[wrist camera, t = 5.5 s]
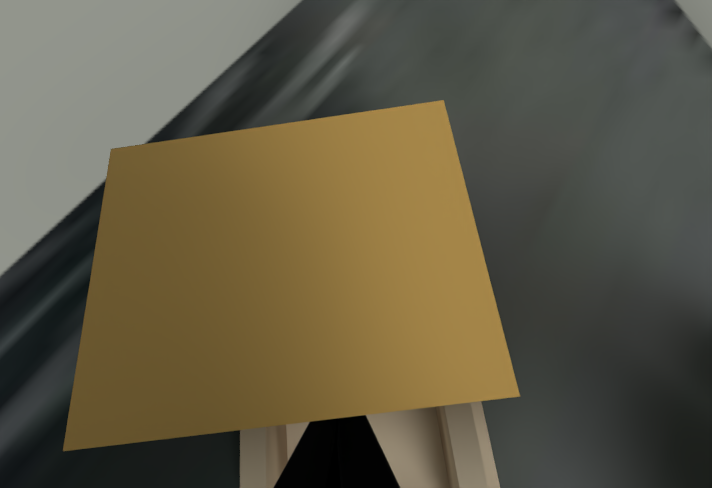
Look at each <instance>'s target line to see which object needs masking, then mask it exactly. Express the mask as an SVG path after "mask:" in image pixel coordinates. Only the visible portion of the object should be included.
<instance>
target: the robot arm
mask: <svg viewBox="0 0 712 488" xmlns="http://www.w3.org/2000/svg"><path fill="white" fill-rule="evenodd" d="M274 488H400V486H399V484H398V482H397V479H396V477H395V475H394V473H393V471H392V469H391V467H390V465H389V463H388V461H387V458H386V456H385V454H384V452H383V450H382V448H381V446H380V444H379V442H378V440H377V437H376V435H375V433H374V431H373V429H372V427H371V425H370V423H369V421H368V419H367V416H366V415H361V416H353V417H344V418H336V419H328V420H319V421H311V422H309V424H308V426H307V427H306V429H305V431H304V433H303V435H302V437H301V438H300V440H299V442H298V444H297V446H296V447H295V449H294V451H293V453H292V455H291V457H290V458H289V460H288V462H287V464H286V466H285V467H284V469H283V471H282V473H281V475H280V477H279V478H278V480H277V482H276V484H275V486H274Z"/></svg>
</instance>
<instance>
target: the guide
mask: <svg viewBox="0 0 712 488" xmlns="http://www.w3.org/2000/svg"><path fill="white" fill-rule="evenodd" d="M366 416H367V419H368V421H369V423H370V425H371V427H372V429H373V431H374V433H375V435H376V437H377V440H378V442H379V444H380V446H381V448H382V450H383V452H384V454H385V456H386V458H387V461H388V463H389V465H390V467H391V469H392V471H393V473H394V475H395V477H396V479H397V482H398V484H399V486H400V488H500V484H499V480H498V475H497V471H496V466H495V462H494V457H493V453H492V448H491V444H490V439H489V435H488V430H487V426H486V421H485V417H484V412H483V407H482V403H481V401H478V402H469V403H461V404H453V405H444V406H436V407H428V408H419V409H411V410H403V411H394V412H386V413H378V414H369V415H366ZM308 424H309V422H303V423H294V424H286V425H278V426H269V427H261V428H253V429H244V430H240V488H274V486H275V484H276V482H277V480H278V478H279V477H280V475H281V473H282V471H283V469H284V467H285V466H286V464H287V462H288V460H289V458H290V457H291V455H292V453H293V451H294V449H295V447H296V446H297V444H298V442H299V440H300V438H301V437H302V435H303V433H304V431H305V429H306V427H307V426H308Z"/></svg>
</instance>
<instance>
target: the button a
mask: <svg viewBox="0 0 712 488" xmlns="http://www.w3.org/2000/svg"><path fill="white" fill-rule="evenodd" d="M519 396H520V394H519V390H518V387H517V383H516V379H515V375H514V371H513V367H512V363H511V359H510V356H509V352H508V348H507V344H506V340H505V336H504V332H503V328H502V325H501V321H500V317H499V313H498V309H497V305H496V301H495V297H494V294H493V290H492V286H491V282H490V278H489V274H488V270H487V267H486V263H485V259H484V255H483V251H482V247H481V243H480V239H479V236H478V232H477V228H476V224H475V220H474V216H473V212H472V208H471V205H470V201H469V197H468V193H467V189H466V185H465V181H464V177H463V174H462V170H461V166H460V162H459V158H458V154H457V150H456V146H455V143H454V139H453V135H452V131H451V127H450V123H449V119H448V116H447V112H446V108H445V104H444V100H442V101H435V102H428V103H421V104H415V105H408V106H401V107H394V108H387V109H380V110H374V111H367V112H360V113H353V114H346V115H340V116H333V117H326V118H319V119H312V120H305V121H299V122H292V123H285V124H278V125H271V126H265V127H258V128H251V129H244V130H237V131H230V132H224V133H217V134H210V135H203V136H196V137H190V138H183V139H176V140H169V141H162V142H155V143H149V144H142V145H135V146H128V147H121V148H115V149H111V153H110V159H109V165H108V172H107V178H106V184H105V190H104V196H103V203H102V209H101V215H100V221H99V228H98V234H97V240H96V246H95V253H94V259H93V265H92V271H91V278H90V284H89V290H88V297H87V303H86V309H85V315H84V322H83V328H82V334H81V340H80V347H79V353H78V359H77V365H76V372H75V378H74V384H73V390H72V397H71V403H70V409H69V415H68V422H67V428H66V434H65V441H64V447H63V451H69V450H78V449H86V448H94V447H103V446H111V445H119V444H128V443H136V442H144V441H153V440H161V439H169V438H178V437H186V436H194V435H203V434H211V433H219V432H228V431H236V430H244V429H253V428H261V427H269V426H278V425H286V424H294V423H303V422H311V421H319V420H328V419H336V418H344V417H353V416H361V415H369V414H378V413H386V412H394V411H403V410H411V409H419V408H428V407H436V406H444V405H453V404H461V403H469V402H478V401H486V400H494V399H503V398H511V397H519Z"/></svg>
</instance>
